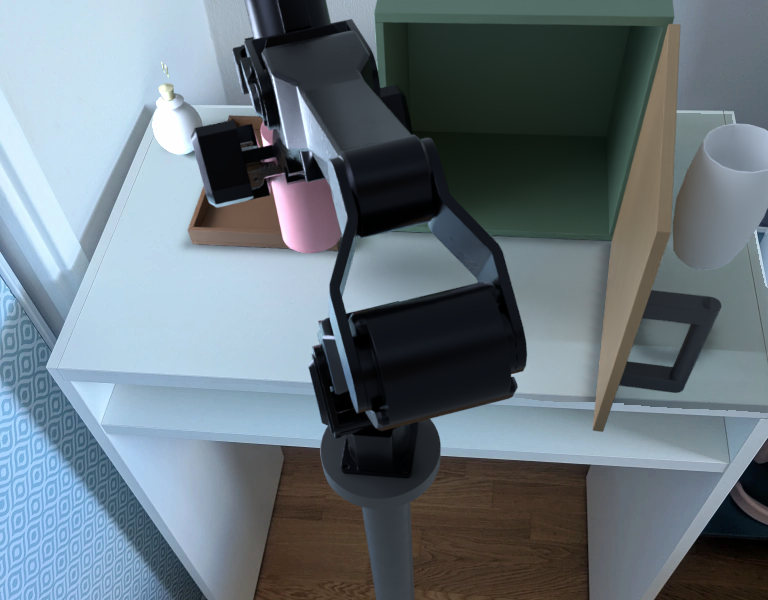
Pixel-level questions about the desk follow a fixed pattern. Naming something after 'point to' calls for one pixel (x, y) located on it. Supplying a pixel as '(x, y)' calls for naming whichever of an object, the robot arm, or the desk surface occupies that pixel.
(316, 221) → the cylindrical container
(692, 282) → the desk surface
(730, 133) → the cup
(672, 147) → the cupboard door
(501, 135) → the cupboard
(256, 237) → the tray
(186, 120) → the ornament
